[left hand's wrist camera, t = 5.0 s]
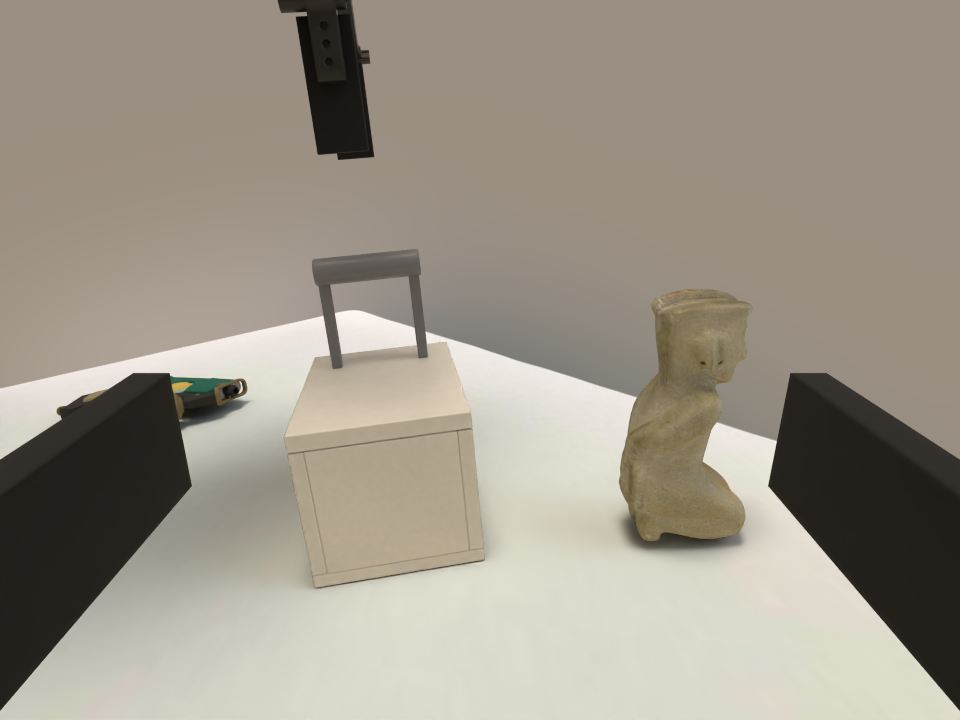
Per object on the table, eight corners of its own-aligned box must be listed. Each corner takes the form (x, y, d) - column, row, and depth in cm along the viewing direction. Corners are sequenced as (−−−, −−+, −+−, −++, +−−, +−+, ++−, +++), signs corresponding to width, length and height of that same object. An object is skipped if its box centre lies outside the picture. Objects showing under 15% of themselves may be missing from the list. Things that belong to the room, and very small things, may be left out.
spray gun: (56, 427, 64) (193, 387, 74) (107, 457, 53) (259, 405, 64) (44, 390, 63) (185, 355, 73) (94, 413, 52) (251, 368, 62)
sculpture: (756, 553, 34) (777, 303, 29) (631, 558, 34) (632, 313, 30) (720, 498, 40) (732, 281, 35) (613, 504, 40) (611, 289, 35)
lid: (316, 369, 45) (296, 255, 42) (447, 353, 46) (436, 241, 44) (286, 454, 32) (253, 294, 29) (472, 428, 33) (457, 272, 30)
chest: (334, 476, 47) (315, 374, 44) (459, 458, 48) (448, 357, 46) (314, 588, 34) (286, 454, 32) (484, 560, 36) (472, 429, 33)
